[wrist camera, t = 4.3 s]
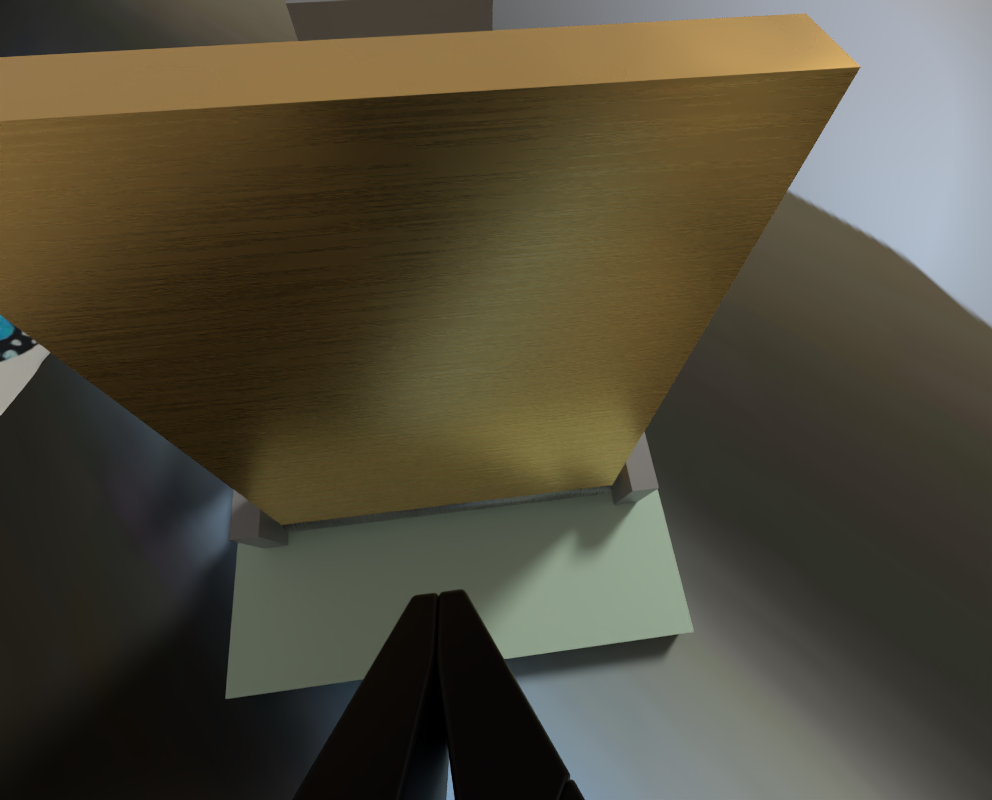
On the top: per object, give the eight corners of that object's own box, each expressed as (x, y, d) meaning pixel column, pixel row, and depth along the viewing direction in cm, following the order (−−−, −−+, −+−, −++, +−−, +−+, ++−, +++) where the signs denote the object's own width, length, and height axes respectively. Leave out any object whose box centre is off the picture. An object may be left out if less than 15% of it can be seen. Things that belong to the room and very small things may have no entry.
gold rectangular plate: (606, 499, 16) (866, 71, 5) (294, 538, 15) (-248, 143, 4) (596, 460, 16) (801, 9, 5) (297, 495, 16) (-154, 60, 5)
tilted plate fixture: (681, 630, 16) (978, 674, 6) (241, 692, 15) (-191, 856, 5) (569, 178, 23) (627, -109, 14) (275, 200, 22) (123, -90, 13)
